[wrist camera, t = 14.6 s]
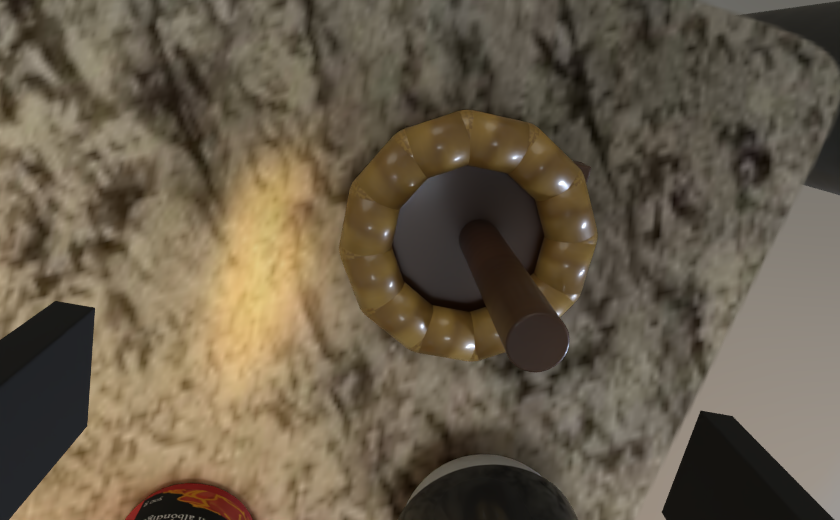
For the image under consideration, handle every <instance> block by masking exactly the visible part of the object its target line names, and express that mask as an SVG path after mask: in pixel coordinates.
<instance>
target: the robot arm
mask: <svg viewBox="0 0 840 520" xmlns="http://www.w3.org/2000/svg"><path fill="white" fill-rule="evenodd" d="M94 315H95V308H93V307H87V306H81V305H75V304H69V303H64V302H58V301H55V302H53V303H52V304H51V305H49V306H48V307H46V308H45V309H44V310H42V311H41V312H39V313H38V314H37V315H35V316H34V317H32V318H31V319H29V320H28V321H27V322H25V323H24V324H22V325H21V326H20V327H18V328H17V329H15V330H14V331H12V332H11V333H10V334H8V335H7V336H5V337H4V338H3V339H1V340H0V520H9V519H10V518H11V517H12V515H13V514H14V513H15V512H16V511H17V509H18V508H19V507H20V506H21V505H22V503H23V502H24V501H25V500H26V499H27V497H28V496H29V495H30V494H31V493H32V491H33V490H34V489H35V488H36V487H37V485H38V484H39V483H40V482H41V481H42V479H43V478H44V477H45V476H46V475H47V473H48V472H49V471H50V470H51V469H52V467H53V466H54V465H55V464H56V463H57V461H58V460H59V459H60V458H61V457H62V456H63V454H64V453H65V452H66V451H67V450H68V448H69V447H70V446H71V445H72V444H73V442H74V441H75V440H76V439H77V438H78V436H79V435H80V434H81V433H82V432H83V430H84V429H85V428H86V427H87V421H88V406H89V391H90V376H91V361H92V346H93V330H94ZM662 513H663V515H664V517H665V518H666V520H834V519H833V518H832V517H831V516H830V515H829V514H828V513H827V512H826V511H825V510H824V509H823V508H822V507H821V506H820V505H819V504H818V503H817V502H816V501H815V500H814V499H813V498H812V497H811V496H810V495H809V494H808V493H807V492H806V491H805V490H804V489H803V487H802V486H801V485H799V483H797V481H796V480H794V478H793V477H791V475H790V474H788V472H787V471H786V470H785V469H784V468H783V467H782V466H781V465H780V464H779V463H778V462H777V461H776V460H775V459H774V458H773V457H772V456H771V455H770V454H769V453H768V452H767V451H766V450H765V449H764V448H763V447H762V446H761V445H760V444H759V443H758V442H757V441H756V440H755V439H754V438H753V437H752V436H751V435H750V434H749V433H748V432H747V431H746V430H745V429H744V428H743V427H742V425H740V424H739V422H738V421H736V419H734V417H733V416H728V415H723V414H717V413H711V412H705V411H700V414H699V417H698V419H697V422H696V424H695V427H694V430H693V432H692V435H691V438H690V440H689V443H688V445H687V448H686V450H685V453H684V456H683V458H682V461H681V463H680V466H679V469H678V471H677V474H676V477H675V479H674V482H673V484H672V487H671V490H670V492H669V495H668V498H667V500H666V503H665V505H664V508H663V511H662Z"/></svg>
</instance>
